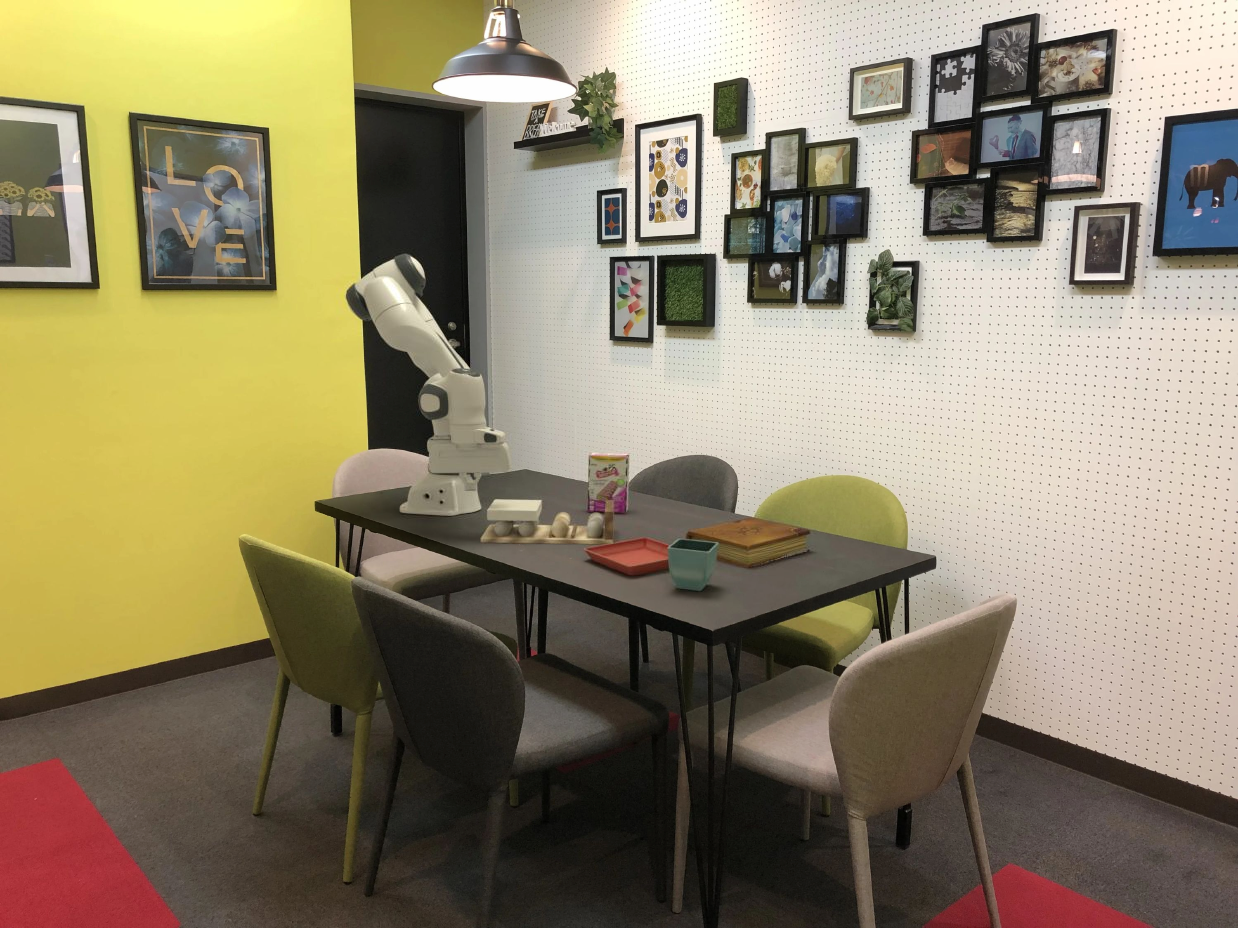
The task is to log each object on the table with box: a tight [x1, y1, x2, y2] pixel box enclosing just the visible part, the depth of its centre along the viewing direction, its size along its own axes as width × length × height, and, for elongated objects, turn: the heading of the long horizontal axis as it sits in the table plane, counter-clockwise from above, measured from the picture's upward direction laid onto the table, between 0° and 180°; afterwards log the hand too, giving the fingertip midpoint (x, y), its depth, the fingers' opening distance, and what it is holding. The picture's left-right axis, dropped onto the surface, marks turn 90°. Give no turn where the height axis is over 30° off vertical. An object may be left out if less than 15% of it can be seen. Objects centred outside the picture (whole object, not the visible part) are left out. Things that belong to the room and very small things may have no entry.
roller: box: [551, 511, 572, 538], centre depth 232 cm, size 4×11×4 cm, turn 179°
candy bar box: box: [587, 452, 630, 514], centre depth 261 cm, size 11×5×16 cm, turn 84°
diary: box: [685, 517, 811, 569], centre depth 220 cm, size 23×19×6 cm
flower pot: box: [667, 538, 719, 592], centre depth 190 cm, size 9×9×9 cm
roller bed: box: [480, 500, 615, 545], centre depth 232 cm, size 32×15×8 cm, turn 89°
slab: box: [486, 499, 543, 522], centre depth 232 cm, size 12×13×2 cm
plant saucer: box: [583, 537, 671, 576], centre depth 208 cm, size 18×18×3 cm
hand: (471, 490), depth 231 cm, fingers closed
